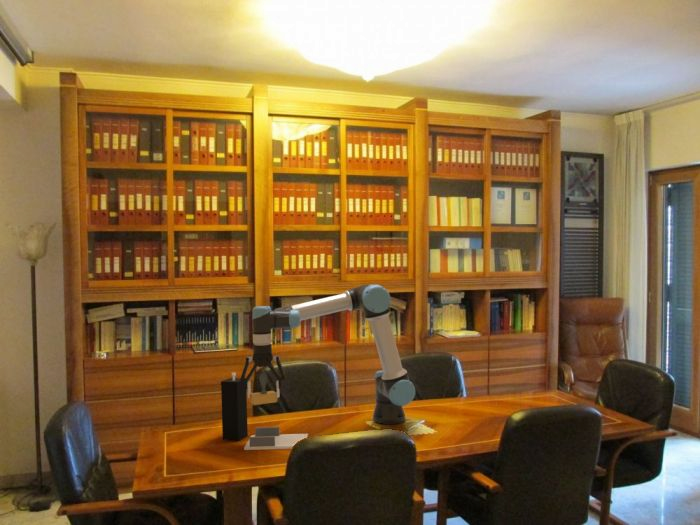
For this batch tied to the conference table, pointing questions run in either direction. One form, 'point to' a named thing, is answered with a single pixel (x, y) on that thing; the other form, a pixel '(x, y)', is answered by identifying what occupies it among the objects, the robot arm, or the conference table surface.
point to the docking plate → (272, 439)
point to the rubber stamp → (263, 393)
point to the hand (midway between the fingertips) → (263, 397)
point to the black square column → (234, 409)
